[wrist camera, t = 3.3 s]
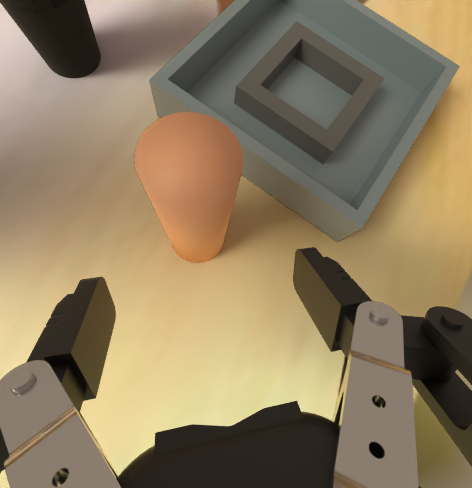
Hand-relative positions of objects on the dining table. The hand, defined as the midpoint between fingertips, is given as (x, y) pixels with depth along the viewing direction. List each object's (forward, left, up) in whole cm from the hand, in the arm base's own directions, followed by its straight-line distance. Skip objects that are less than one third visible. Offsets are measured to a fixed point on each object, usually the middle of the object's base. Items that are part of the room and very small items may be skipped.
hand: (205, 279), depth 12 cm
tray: (-3, +20, -10) cm, 23 cm away
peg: (-3, +3, -10) cm, 11 cm away
